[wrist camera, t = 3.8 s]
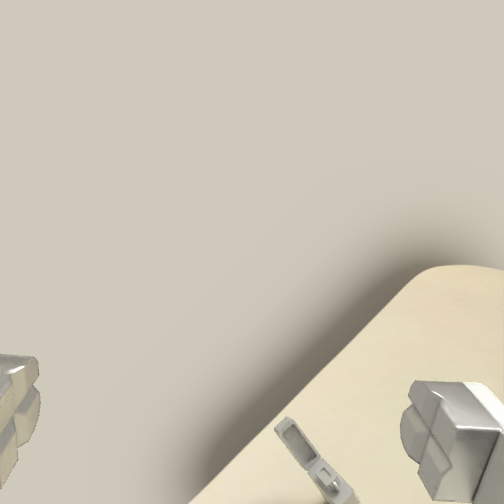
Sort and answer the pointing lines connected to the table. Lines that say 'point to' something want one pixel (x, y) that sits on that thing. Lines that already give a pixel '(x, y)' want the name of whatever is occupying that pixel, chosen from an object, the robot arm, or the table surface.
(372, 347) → the table surface
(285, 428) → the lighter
